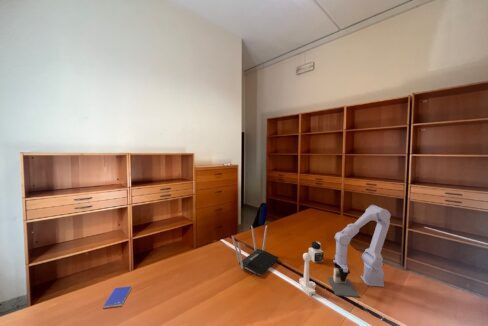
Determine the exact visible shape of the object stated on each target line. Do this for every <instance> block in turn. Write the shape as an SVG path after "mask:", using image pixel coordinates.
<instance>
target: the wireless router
mask: <svg viewBox="0 0 488 326" xmlns="http://www.w3.org/2000/svg"><path fill="white" fill-rule="evenodd" d="M250 226H251V234H252V242H253V248H254V251H253V252H252V253H250V254H249V255H247V256H246V257H244V258H243V257H242V249H241V243H240V242H239V241H237V244H236V241H235V237H234V236H233V235H231V239H232V243H233V246H234V249H235V253H236V257H237V260H238V265H240V268H241V270H243V269H246V271H249V272H251V273H254V274H255V275H258V276H262V275H263V274H264V273H265V272H266V271H268V269H269V268H270V267H271V266H273V265H274V264H275V263H276V262H277V261H278V260H279V257H278V256H276V255H274V254H273V253H270V252H268V251H267V250H265V248H266V239H267V231H268V225H265V228H264V235H263V242H262V248H257V245H256V239H255V238H256V237H255V233H254V227H253V225H250Z"/></svg>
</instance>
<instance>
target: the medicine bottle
mask: <svg viewBox="0 0 488 326" xmlns="http://www.w3.org/2000/svg"><path fill="white" fill-rule="evenodd" d="M308 253H309V254H310V255H311V260H310V261H312V262H313V263H315V264H316V263H322V262H324V255H325V254H324V253H325V252H324V250H322V243H321V242H319V241H312V242H311V247H309V248H308Z"/></svg>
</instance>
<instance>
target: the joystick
mask: <svg viewBox="0 0 488 326" xmlns="http://www.w3.org/2000/svg"><path fill="white" fill-rule="evenodd" d="M302 259H303V261H304V269H303V277H300V278H299V280H298V282H299V285H300V288H301V290H302V291H303V292H304V293H305V294H306V295H307V296H309V297H311V296H313V295H316V290H315V289H316V283H315V282H313V281H311V280H310V262H311V261H312V260H311V255H310V254H309V252H304V253H303V255H302Z"/></svg>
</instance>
